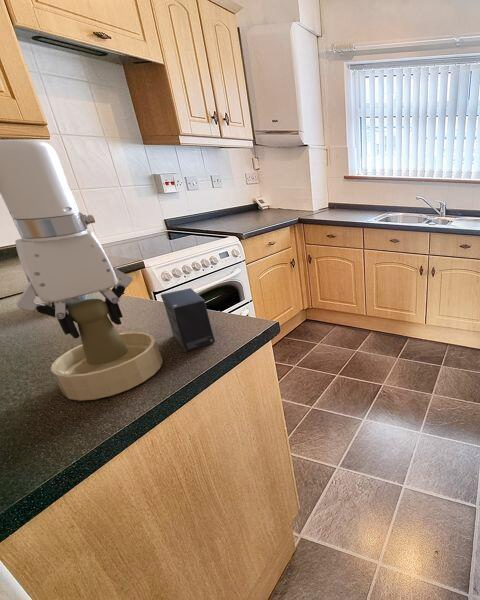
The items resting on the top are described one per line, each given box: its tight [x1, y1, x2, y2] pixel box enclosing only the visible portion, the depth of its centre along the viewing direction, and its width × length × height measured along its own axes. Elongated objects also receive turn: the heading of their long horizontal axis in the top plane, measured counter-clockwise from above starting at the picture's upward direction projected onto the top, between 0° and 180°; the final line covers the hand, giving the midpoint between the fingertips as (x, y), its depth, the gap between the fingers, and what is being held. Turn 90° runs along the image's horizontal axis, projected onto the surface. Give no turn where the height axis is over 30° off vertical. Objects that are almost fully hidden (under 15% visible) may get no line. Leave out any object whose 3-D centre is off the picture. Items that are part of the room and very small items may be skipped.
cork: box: [67, 298, 128, 365], centre depth 60 cm, size 6×6×11 cm
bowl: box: [50, 331, 163, 401], centre depth 63 cm, size 15×15×6 cm
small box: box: [160, 287, 216, 353], centre depth 75 cm, size 11×6×10 cm, turn 44°
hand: (96, 328), depth 60 cm, fingers closed on cork, 5 cm apart
